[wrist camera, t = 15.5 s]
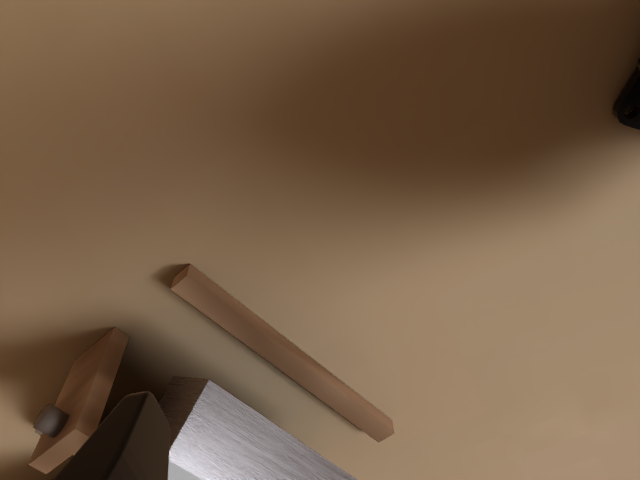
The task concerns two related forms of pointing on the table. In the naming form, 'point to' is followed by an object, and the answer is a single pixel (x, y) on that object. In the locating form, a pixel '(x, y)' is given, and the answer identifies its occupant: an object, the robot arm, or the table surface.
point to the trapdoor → (232, 439)
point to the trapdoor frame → (105, 355)
